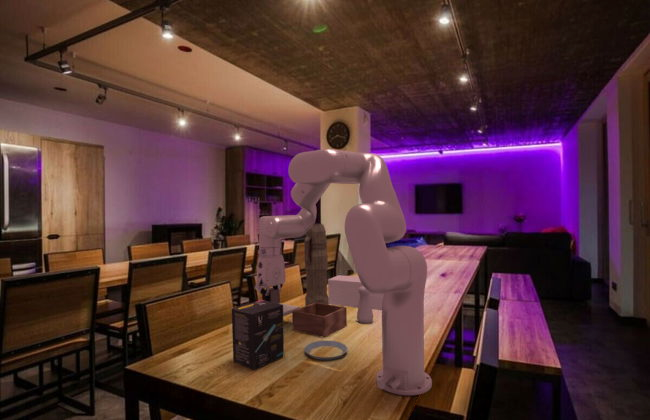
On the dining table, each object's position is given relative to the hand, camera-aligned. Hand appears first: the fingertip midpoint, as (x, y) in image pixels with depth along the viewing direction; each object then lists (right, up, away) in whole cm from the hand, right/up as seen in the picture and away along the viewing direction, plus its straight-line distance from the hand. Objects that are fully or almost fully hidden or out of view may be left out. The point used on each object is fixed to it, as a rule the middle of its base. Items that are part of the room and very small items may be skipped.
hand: (271, 304), depth 124 cm
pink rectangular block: (+37, -8, +27) cm, 47 cm away
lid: (0, -3, 0) cm, 3 cm away
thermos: (+15, -8, +15) cm, 23 cm away
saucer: (+19, -8, -24) cm, 32 cm away
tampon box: (0, -8, -26) cm, 27 cm away
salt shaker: (+33, -8, +3) cm, 34 cm away
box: (+17, -8, -3) cm, 19 cm away
